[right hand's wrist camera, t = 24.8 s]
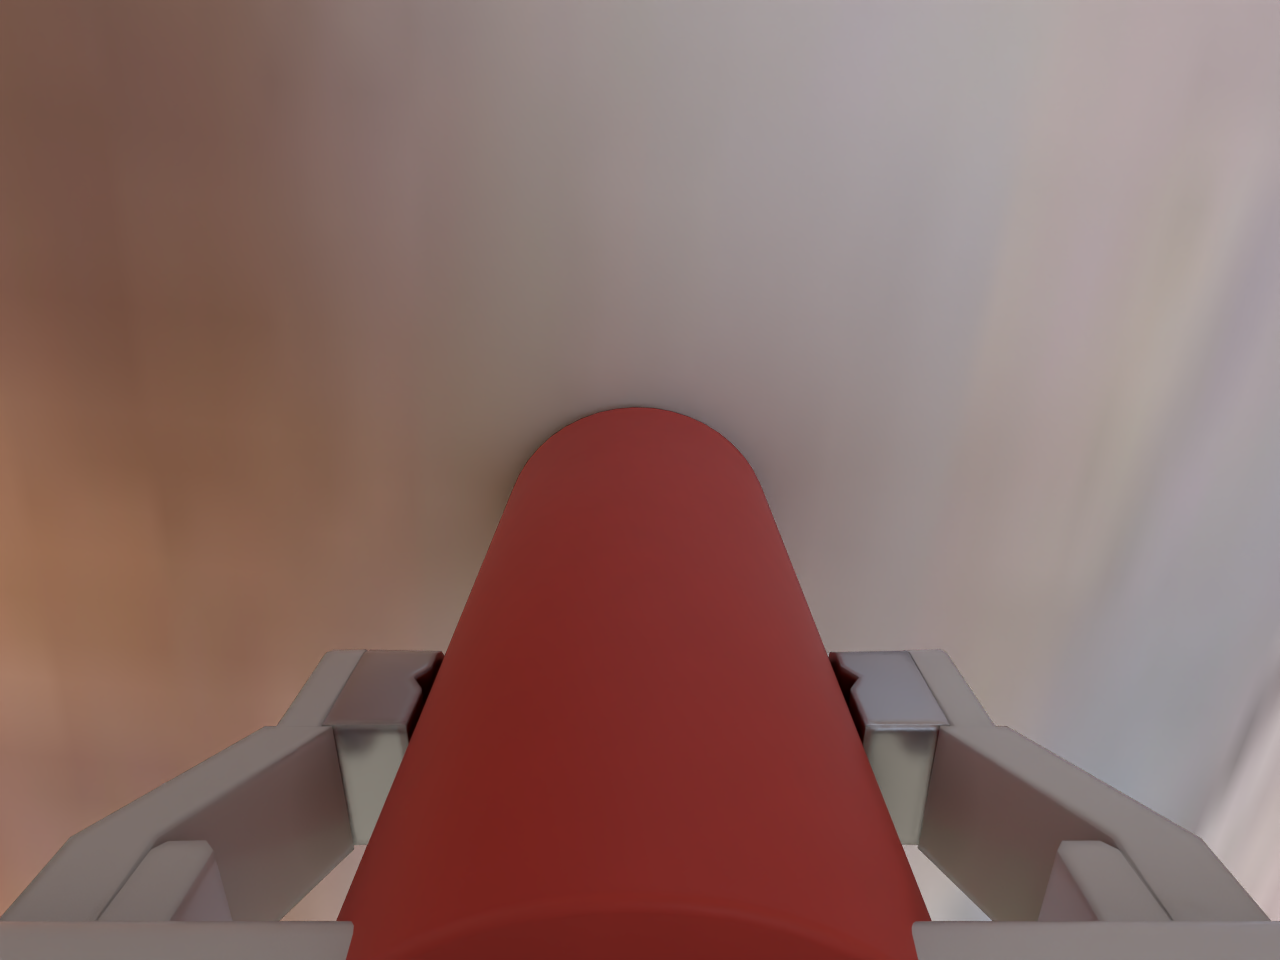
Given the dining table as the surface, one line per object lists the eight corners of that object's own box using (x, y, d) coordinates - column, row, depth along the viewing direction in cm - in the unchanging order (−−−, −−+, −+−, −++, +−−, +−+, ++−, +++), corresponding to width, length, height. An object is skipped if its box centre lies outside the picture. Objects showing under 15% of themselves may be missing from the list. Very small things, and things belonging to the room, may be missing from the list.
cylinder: (632, 348, 14) (615, 756, 4) (821, 527, 15) (1151, 1157, 5) (453, 535, 15) (121, 1172, 5) (641, 684, 17) (643, 1412, 7)
